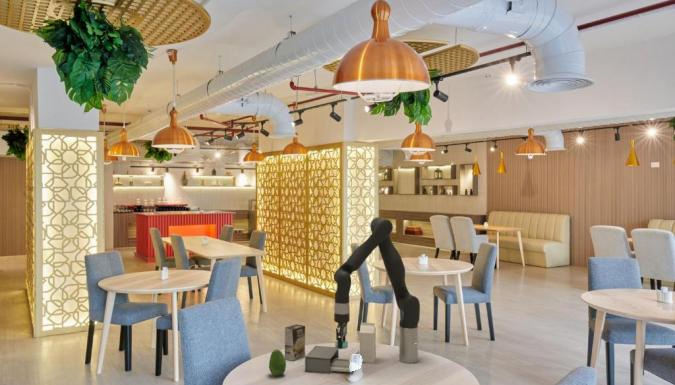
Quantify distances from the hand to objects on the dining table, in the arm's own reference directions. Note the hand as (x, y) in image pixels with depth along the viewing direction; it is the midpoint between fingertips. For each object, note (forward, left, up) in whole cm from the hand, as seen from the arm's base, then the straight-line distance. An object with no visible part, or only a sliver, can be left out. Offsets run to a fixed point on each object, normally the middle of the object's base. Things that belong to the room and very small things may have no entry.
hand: (341, 346), depth 257 cm
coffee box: (+27, -9, -11) cm, 30 cm away
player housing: (+10, 0, -11) cm, 14 cm away
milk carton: (-10, -14, -11) cm, 21 cm away
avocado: (+27, +17, -11) cm, 33 cm away
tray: (-1, 0, -10) cm, 10 cm away
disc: (0, 0, 0) cm, 0 cm away
